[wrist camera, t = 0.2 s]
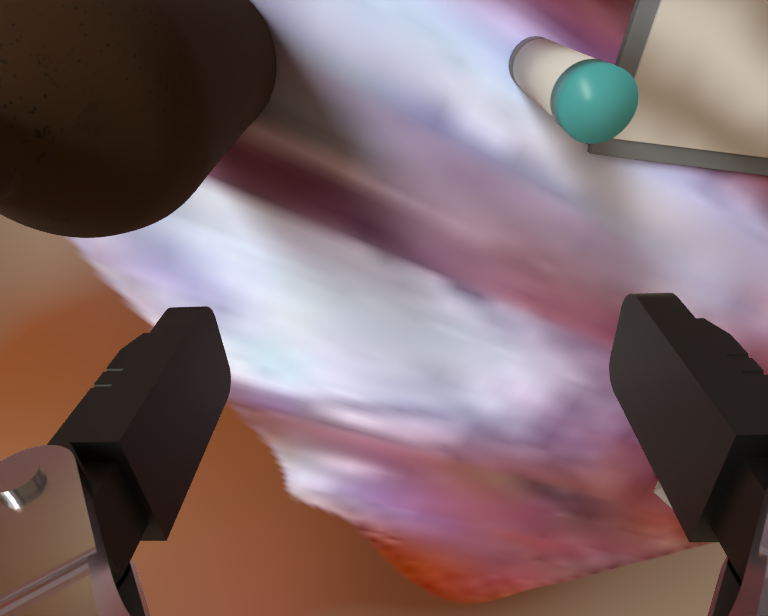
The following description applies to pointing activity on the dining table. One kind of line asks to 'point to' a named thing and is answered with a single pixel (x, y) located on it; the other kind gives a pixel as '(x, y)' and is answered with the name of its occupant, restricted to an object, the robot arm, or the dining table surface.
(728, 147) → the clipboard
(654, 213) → the dining table surface
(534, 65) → the marker
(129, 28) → the olive oil
